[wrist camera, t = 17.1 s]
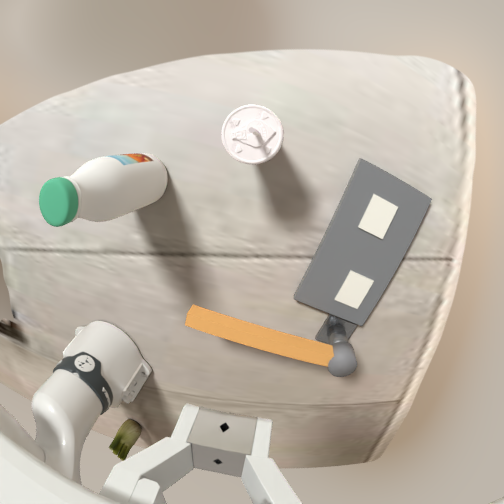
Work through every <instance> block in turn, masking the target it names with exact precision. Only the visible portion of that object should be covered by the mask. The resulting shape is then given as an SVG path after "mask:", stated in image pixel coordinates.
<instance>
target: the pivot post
mask: <svg viewBox="0 0 504 504" xmlns="http://www.w3.org/2000/svg"><path fill="white" fill-rule="evenodd" d="M356 327H357V324H355V323H353V322H350V321H348V320H345V319H342V318H340V317H337V316H335V315H332V314H329V316H328V317H327V319H326V320H325V322H324V324H323V325H322V327H321V329H320V330H319V332H318V333H317V335H316V337H315V339H316V340H319V341H322V342H325V343H327V344H329V345H332V344H334V343H337V342H348V338H349V337H350V336H351V334H352V333H353V331H354V330H355V328H356Z"/></svg>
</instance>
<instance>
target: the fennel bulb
mask: <svg viewBox="0 0 504 504" xmlns="http://www.w3.org/2000/svg"><path fill="white" fill-rule="evenodd" d="M140 433H141V427H140V425H139V424H138V423H137V422H135V421H133V420H131V419H128V420H127V421H125V422H124V423H123V424H122V426H121V427H120V429H119V430H118V432H117V434H116V436H115V438H114V440H113V442H112V443H111V445H110V446H109V448H110V449H111V450H113V453H114V454H115V455H118V458H120V459H121V460H123V461H124V460H125V459H126V457H127V454H128V453H129V451H130V449H131V447H132V446H133V445H134V444H135V442H136V441H137V439H138V438H139V436H140ZM119 451H120V452H119ZM118 453H119V454H118Z"/></svg>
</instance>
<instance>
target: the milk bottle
mask: <svg viewBox="0 0 504 504" xmlns="http://www.w3.org/2000/svg"><path fill="white" fill-rule="evenodd" d="M167 180H168V177H167V171H166V168H165V166H164V164H163V163H162V161H161V160H160V159H159V158H157V157H156V156H154V155H152V154H147V153H139V154H123V155H112V156H105V157H99V158H96V159H93V160H90V161H88V162H87V163H85V164H84V165H82V166H81V167H80V168H79V169H78V170H77V171H76V172H75V173H74V174H73V175H72V176H70V177H68V176H63V177H58V178H53V179H50V180H48V181H47V182H46V183H45V184H44V185H43V187H42V189H41V191H40V196H39V205H40V210H41V213H42V215H43V217H44V219H45V220H46V221H47V223H49V224H50V225H52V226H56V227H59V226H63V225H65V224H67V223H69V222H73V221H74V220H76V219H77V218H83V219H86V220H89V221H95V222H103V221H108V220H112V219H115V218H118V217H120V216H123V215H125V214H128V213H130V212H133V211H135V210H137V209H140V208H142V207H145V206H147V205H149V204H152V203H154V202H156V201H157V200H158V199H160V197H161V196H162V195H163V194H164V192H165V189H166V186H167Z"/></svg>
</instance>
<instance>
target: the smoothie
mask: <svg viewBox="0 0 504 504" xmlns="http://www.w3.org/2000/svg"><path fill="white" fill-rule="evenodd" d="M221 135H222V142H223V145H224V147H225V149H226V151H227V152H228V153H229V155H230V156H232V157H233V158H234V159H236V160H237V161H239V162H242V163H246V164H260V163H264V162H266V161H268V160H270V159H271V158H273V157H274V156H275V155H276V154H277V153H278V151H279V150H280V148H281V146H282V143H283V139H284V131H283V126H282V123H281V122H280V120H279V118H278V117H277V116H276V115H275V114H274V113H273V112H272V111H271V110H270V109H268V108H266V107H263V106H260V105H245V106H242V107H239V108H237V109H236V110H234V111H233V112H232V113H230V115H229V116H228V117H227V118H226V120H225V122H224V124H223V127H222V134H221Z"/></svg>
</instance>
